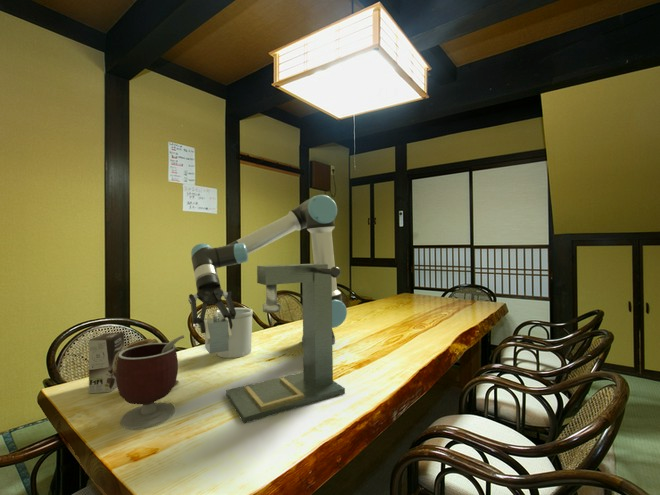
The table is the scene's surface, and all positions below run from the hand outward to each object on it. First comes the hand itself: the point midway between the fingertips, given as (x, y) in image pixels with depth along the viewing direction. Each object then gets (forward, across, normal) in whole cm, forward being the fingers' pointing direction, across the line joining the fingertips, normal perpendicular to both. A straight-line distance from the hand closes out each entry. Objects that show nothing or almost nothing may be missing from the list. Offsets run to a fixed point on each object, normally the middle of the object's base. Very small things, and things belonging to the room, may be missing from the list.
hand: (219, 339), depth 97 cm
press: (+23, -16, 0) cm, 28 cm away
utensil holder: (-13, -14, -36) cm, 41 cm away
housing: (0, 0, -5) cm, 5 cm away
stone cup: (+1, +18, -22) cm, 28 cm away
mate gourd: (+14, +18, -8) cm, 25 cm away
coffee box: (-5, +29, -28) cm, 41 cm away
